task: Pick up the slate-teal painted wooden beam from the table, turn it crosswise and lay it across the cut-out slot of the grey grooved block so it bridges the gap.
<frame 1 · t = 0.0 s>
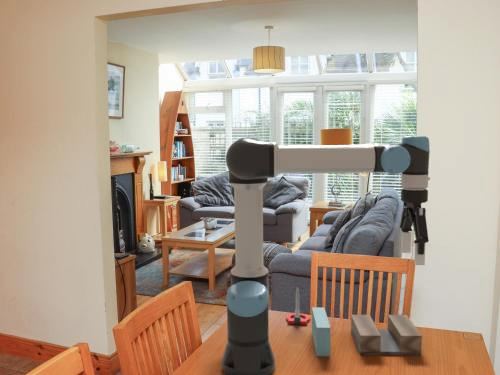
hand: (412, 258, 144), 28 cm above the table, tool pointing down, fingers open, 13 cm apart
teal beam: (320, 344, 150), on the table
grey grooved block: (384, 342, 151), on the table
tow hook: (297, 320, 170), on the table
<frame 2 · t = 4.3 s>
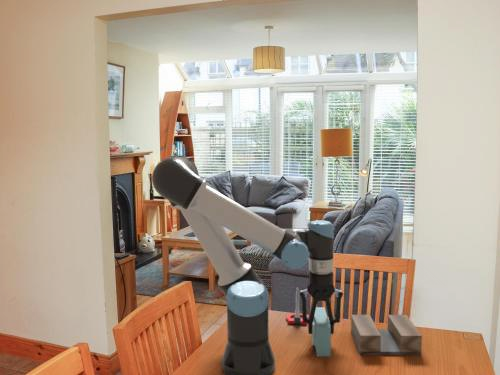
hand: (320, 343, 150), 0 cm above the table, tool pointing down, fingers closed on teal beam, 4 cm apart
teal beam: (320, 344, 150), on the table, touching gripper
everything else where it was.
when the fingers open (8 cm above the table, at t = 9.6 s): teal beam drops 1 cm, resting on grey grooved block.
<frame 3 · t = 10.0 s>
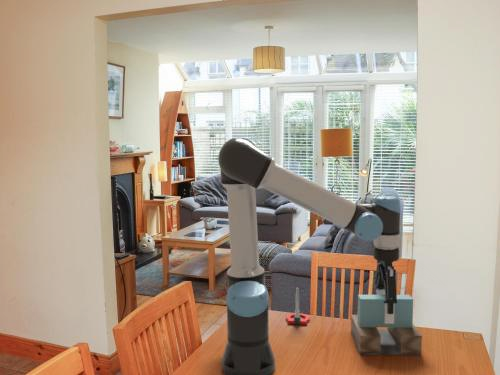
hand: (384, 315, 150), 9 cm above the table, tool pointing down, fingers open, 10 cm apart
teal beam: (384, 324, 150), point 6 cm above the table, touching grey grooved block
everything else where it was.
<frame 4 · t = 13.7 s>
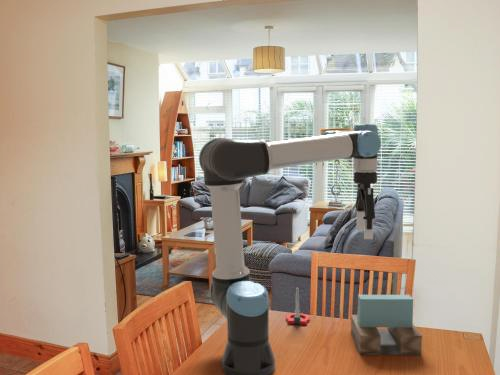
hand: (364, 234, 161), 32 cm above the table, tool pointing down, fingers open, 13 cm apart
nothing on the table moved.
at the end: teal beam inside the target area on the grey grooved block (0.0 cm from its centre), point 6.0 cm above the grey grooved block's base; teal beam touching grey grooved block; the gripper is holding nothing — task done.
